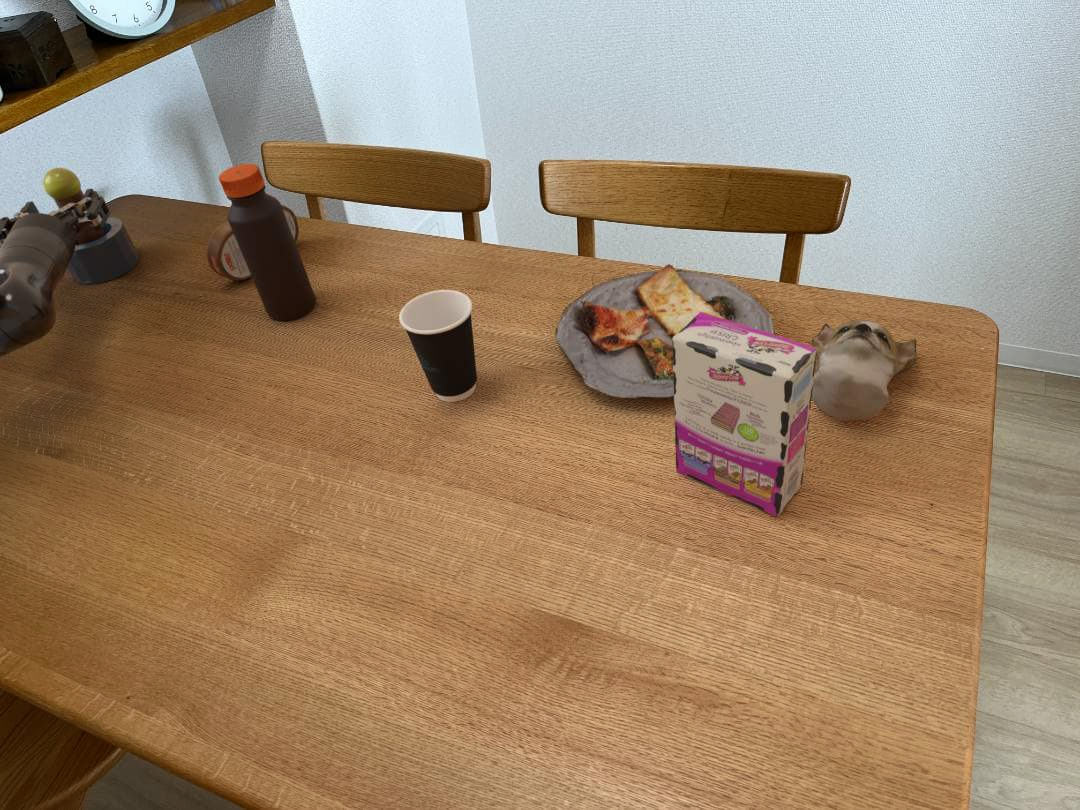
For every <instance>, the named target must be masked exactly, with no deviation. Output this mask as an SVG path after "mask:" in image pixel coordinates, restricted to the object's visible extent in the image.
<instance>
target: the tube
mask: <svg viewBox="0 0 1080 810" xmlns="http://www.w3.org/2000/svg"><path fill="white" fill-rule="evenodd" d="M103 231H104V232H105V234H106V235H105V236H103V237H102V238H100V239H98V240H96V241H93V242H90V243H87V244H82V245H79V243H78V241H77V239H76V247H75V251H74V253H73V255H72V258H71V260H70V262H69V265H68V267H67V270H68V271H69V273H70V275H71V276H72V278H73V279H74V280H75V282H77V283H78V284H81V285H97V284H98V285H99V284H102V283H107V282H109V281H112V280H115V279H117V278H121V276H123V275H126V273H128V272H130V271H131V270H133V268H135V267H136V266H137V264H138V263H139V261H140V255H139V252H138V250H137V248H136V247H135V245H134V243H133V241H132V239H131V237H130V235H129V233H128V231H127V229H126V227H125V226H124V224H123V222H122V221H121V219H120V218H117V217H108V219H107V221H106V223H105V225H104V227H103Z"/></svg>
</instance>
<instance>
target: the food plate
mask: <svg viewBox="0 0 1080 810" xmlns="http://www.w3.org/2000/svg"><path fill="white" fill-rule="evenodd" d="M700 312H704V313H707V314H710V315H713V316H717V317H720V318H723V319H726V320H729V321H733V322H736V323H739V324H742V325H745V326H749V327H752V328H755V329H758V330H761V331H765V332H768V333H771V334H774V335H776V334H775V328H774V325H773V317H772V316H771V315H770V312H769V311H768V309H766V307H764V306H763V305H762V304H761V303H760V302H759V301H757V300H756V299H755V298H754V297H753V296H752V295H751V294H749V293H748V292H746V291H745V290H744V289H743V288H741V287H740V286H738V285H737V284H736V283H734V282H733V281H731V280H729V279H726V278H724V277H721V276H718V275H715V274H708V273H704V272H694V271H693V272H691V271H687V270H682V269H679V268H678V269H675V267H674V266H673V265H672V264H671V263H669V264H666V265H665V266H664V267H663V268H661V269H660V270H658V271H653V270H651V271H642V272H639V273H632V274H629V275H626V276H621V277H616V278H611V279H609V280H607V281H605V282H602V283H600V284H597V285H595V286H593V287H592V288H590V289H588V290H587V291H585V293H583V294H581V295H580V296H579V297H577V298H576V299H575V300H574V301H572V302H571V303H570V304H568V305H567V306H566V307H565V308H564V310H563V311H562V315H561V316H560V320H559V322H558V323H557V327H556V328H555V333H554V334H555V342H557V344H558V345H559V346H560V349H562V351H563V352H564V354H565V355H566V357H567V358H568V360H569V362H570V363H572V365H573V367H574V369H575V370H576V372H578V373H579V375H581V378H582V380H583V382H584V384H585V386H587V387H589V388H591V389H593V390H595V391H598V392H600V393H602V394H605V395H608V396H610V397H615V398H621V399H625V398H629V399H637V398H641V397H645V398H648V397H649V398H671V397H674V378H673V348H672V338H673V337H674V336H675V335H676V334H677V333H678V332H679V331H680V330H682V329H683V328H684V327H685V326H686V325H688V323H689V322H690V321H691V320H692V319H693V318H694V317H695V316H696V315H698V314H699V313H700Z"/></svg>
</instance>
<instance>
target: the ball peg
mask: <svg viewBox="0 0 1080 810" xmlns="http://www.w3.org/2000/svg"><path fill="white" fill-rule="evenodd" d="M81 183H82V182H81V181H80V178H79V176H78V175H77V174H76V173H75V172H73V171H72V170H70V169H68V168H65V167H53V168H51V169H49V170H48V171H47V172H46V173H45V174H44V176H43V179H42V185H43V189H44V191H45V192H46V194H47V195H48V196H49V197H50V198H51V199H52V200H53V201H54V202H55V204H56V206H57V208H58V210H59V209H61V208H62V207H64V206H66V205H67V204H69V203H78V202H79V201H81V200H82V198H83V196H84V194H85V193H84V191H83V190H82V185H81ZM82 211H83V213H84V212H85V211H87V209H86V207H85V206H84V207H83V208H82ZM68 213H69V214H71V215H73V216H74V214H73V213H72V211H70V212H68ZM84 215H85V213H84ZM74 217H75V216H74ZM105 235H106V234H105V232H104V231H103V229H101V230H100V231H94V230H93V228H92V226H91V227H86V228H83V229H82V231H81V232H80V233H78V234H77V235H76V239H77V241H78V243H79V245H82V244H87V243H90V242H93V241H96V240H98V239H100V238H102V237H103V236H105Z"/></svg>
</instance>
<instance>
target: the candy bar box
mask: <svg viewBox="0 0 1080 810" xmlns="http://www.w3.org/2000/svg"><path fill="white" fill-rule="evenodd" d="M774 334H775V333H774ZM774 334H771V333H768V332H765V331H761V330H758V329H755V328H752V327H749V326H745V325H742V324H739V323H736V322H733V321H729V320H726V319H723V318H720V317H717V316H713V315H710V314H707V313H704V312H700V313H699V314H698V315H696V316H695V317H694V318H693V319H692V320H691V321H690V322H689V323H688V325H686V326H685V327H684V328H683V329H682V330H680V331H679V332H678V333H677V334H676V335H675V336H674V337H673V338H672V348H673V378H674V396H673V407H674V408H673V410H674V415H673V416H674V445H675V446H674V447H675V471H676V472H677V473H679V474H681V475H682V476H686V477H688V478H690V479H692V480H694V481H697V482H699V483H702V484H703V485H706V486H708V487H709V488H710V487H711V488H712V489H715V490H717V491H719V492H722V493H724V494H726V495H729V496H731V497H733V498H735V499H738V500H740V501H741V502H744V503H746V504H748V505H751V506H753V507H755V508H757V509H759V510H762V511H764V512H766V513H769V514H770V515H773V516H775V517H777V518H779V517H780V516H781V514H782V513H783V511H784V510H785V509H786V507H787V506H788V504H789V503H790V502H791V501H792V500H793V498H794V497H795V496H796V495H797V494H798V492H799V490H800V489H801V488H802V486H803V479H804V469H805V461H806V453H807V452H806V451H807V441H808V434H809V424H810V415H811V407H812V406H811V405H812V390H813V380H814V374H815V373H816V372H815V370H816V362H817V356H816V353H817V348H816V347H813V346H811V344H806V343H803V342H800V341H797V340H793V339H790V338H786V337H784V336H781V335H777V334H775V335H774Z"/></svg>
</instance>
